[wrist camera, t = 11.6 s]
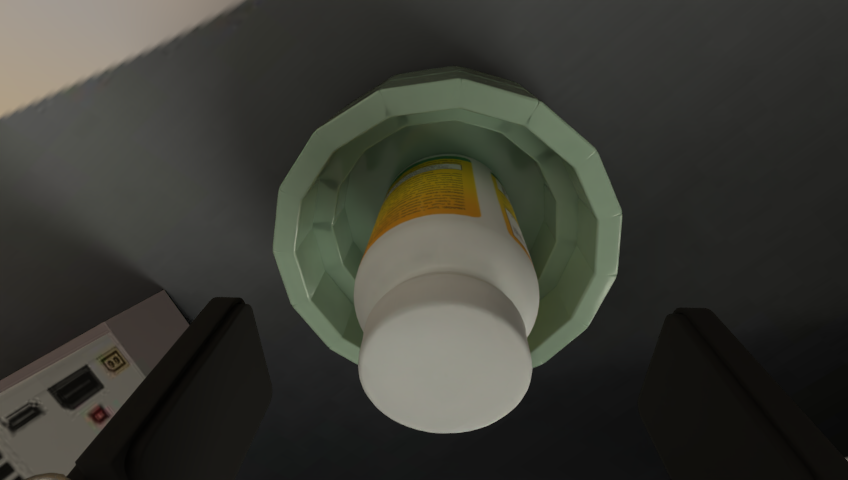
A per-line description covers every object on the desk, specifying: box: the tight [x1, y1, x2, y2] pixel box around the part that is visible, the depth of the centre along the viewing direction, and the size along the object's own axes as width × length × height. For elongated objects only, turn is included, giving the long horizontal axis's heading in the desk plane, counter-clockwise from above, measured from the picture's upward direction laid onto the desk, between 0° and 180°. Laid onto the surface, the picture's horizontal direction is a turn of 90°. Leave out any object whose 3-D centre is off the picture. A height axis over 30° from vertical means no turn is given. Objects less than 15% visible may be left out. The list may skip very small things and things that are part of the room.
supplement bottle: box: [354, 154, 539, 433], centre depth 14 cm, size 5×5×10 cm
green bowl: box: [273, 66, 622, 368], centre depth 16 cm, size 12×12×5 cm
